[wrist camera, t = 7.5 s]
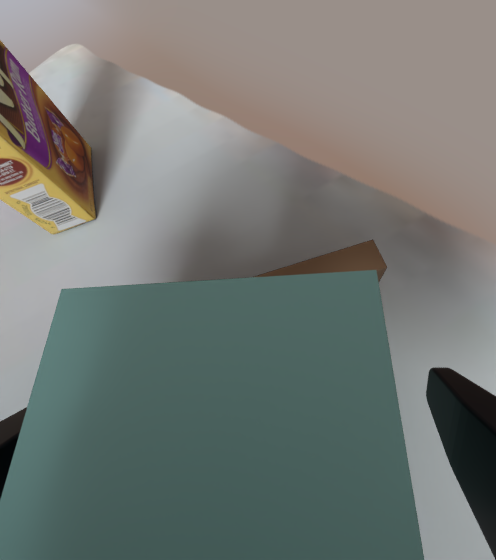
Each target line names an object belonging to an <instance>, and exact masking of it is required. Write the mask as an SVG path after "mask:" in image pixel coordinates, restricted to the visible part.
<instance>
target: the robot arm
mask: <svg viewBox="0 0 496 560" xmlns="http://www.w3.org/2000/svg"><path fill="white" fill-rule="evenodd" d="M426 397H427V402H428V405H429V407H430V410H431V413H432V416H433V419H434V421H435V424H436V427H437V430H438V433H439V435H440V438H441V441H442V444H443V446H444V449H445V452H446V455H447V457H448V460H449V463H450V465H451V467H452V469H453V472H454V474H455V476H456V478H457V480H458V482H459V484H460V487H461V489H462V491H463V493H464V495H465V497H466V499H467V501H468V503H469V505H470V507H471V510H472V512H473V514H474V516H475V518H476V520H477V522H478V524H479V526H480V528H481V530H482V532H483V535H484V537H485V539H486V541H487V543H488V545H489V547H490V549H491V551H492V553H493V555H494V557H495V560H496V396H494V395H493V394H491V393H490V392H488V391H486V390H485V389H483V388H481V387H480V386H478V385H477V384H475V383H473V382H472V381H470V380H468V379H467V378H465V377H464V376H462V375H460V374H459V373H457V372H455V371H454V370H452V369H450V368H431V369H430V371H429V376H428V383H427V391H426ZM26 410H27V408H25V409H23V410H21V411H19V412H17V413H15V414H14V415H12V416H10V417H8V418H6V419H4V420H2V421H1V422H0V499H1V496H2V492H3V489H4V485H5V482H6V478H7V475H8V472H9V468H10V465H11V461H12V458H13V454H14V451H15V448H16V444H17V441H18V437H19V434H20V430H21V427H22V424H23V420H24V417H25V413H26Z"/></svg>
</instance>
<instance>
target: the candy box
mask: <svg viewBox="0 0 496 560" xmlns="http://www.w3.org/2000/svg"><path fill="white" fill-rule="evenodd" d="M0 200H2V201H3V202H5V203H6V204H8V205H9V206H11V207H12V208H14V209H15V210H17V211H18V212H20V213H21V214H23V215H24V216H26V217H27V218H29V219H30V220H32V221H33V222H35V223H36V224H38V225H39V226H41V227H42V228H43V229H45V230H47V231H48V232H49V233H51V234H57V233H60V232H62V231H65V230H67V229H70V228H73V227H76V226H78V225H81V224H83V223H86V222H88V221H91V220H94V219H95V218H96V214H95V206H94V193H93V179H92V164H91V147H90V146H89V145H88V144H87V142H86V141H85V140H84V139H83V138H82V136H81V135H80V134H79V133H78V132H77V131H76V129H75V128H74V127H73V126H72V125H71V124H70V122H69V121H68V120H67V119H66V118H65V116H64V115H63V114H62V113H61V112H60V110H59V109H58V108H57V107H56V106H55V105H54V103H53V102H52V101H51V100H50V98H49V97H48V96H47V95H46V94H45V92H44V91H43V90H42V89H41V88H40V87H39V86H38V84H37V83H36V82H35V81H34V80H33V79H32V77H31V76H30V75H29V74H28V73H27V72H26V70H25V69H24V68H23V67H22V66H21V65H20V63H19V62H18V61H17V60H16V58H15V57H14V56H13V55H12V54H11V53H10V51H9V50H8V49H7V48H6V47H5V45H4V44H3V43H2V42H1V41H0Z"/></svg>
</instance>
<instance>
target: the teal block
mask: <svg viewBox="0 0 496 560" xmlns="http://www.w3.org/2000/svg"><path fill="white" fill-rule="evenodd" d="M0 560H424V555H423V549H422V543H421V537H420V531H419V525H418V519H417V513H416V507H415V501H414V495H413V489H412V483H411V476H410V470H409V464H408V458H407V452H406V446H405V440H404V434H403V428H402V422H401V416H400V410H399V404H398V398H397V392H396V386H395V380H394V374H393V368H392V362H391V355H390V349H389V343H388V337H387V331H386V325H385V319H384V313H383V307H382V301H381V295H380V289H379V283H378V277H377V271H376V270H366V271H350V272H334V273H317V274H301V275H285V276H268V277H252V278H236V279H219V280H203V281H187V282H171V283H154V284H138V285H122V286H105V287H89V288H73V289H62V290H61V293H60V297H59V300H58V304H57V307H56V310H55V314H54V317H53V321H52V324H51V328H50V331H49V334H48V338H47V341H46V345H45V348H44V352H43V355H42V358H41V362H40V365H39V369H38V372H37V376H36V379H35V382H34V386H33V389H32V393H31V396H30V400H29V403H28V406H27V410H26V413H25V417H24V420H23V424H22V427H21V430H20V434H19V437H18V441H17V444H16V448H15V451H14V454H13V458H12V461H11V465H10V468H9V472H8V475H7V478H6V482H5V485H4V489H3V492H2V496H1V499H0Z"/></svg>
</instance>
